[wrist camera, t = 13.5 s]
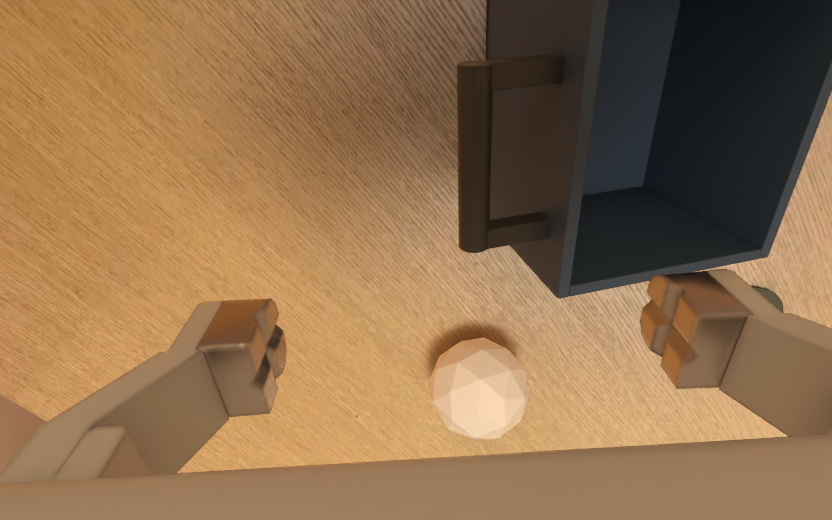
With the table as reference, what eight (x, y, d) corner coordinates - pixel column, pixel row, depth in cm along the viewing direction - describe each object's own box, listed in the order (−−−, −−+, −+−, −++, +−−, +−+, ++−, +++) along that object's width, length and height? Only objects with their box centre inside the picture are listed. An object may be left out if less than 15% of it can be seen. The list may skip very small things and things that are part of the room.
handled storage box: (687, -28, 26) (883, -40, 17) (642, 190, 32) (768, 257, 24) (407, -9, 23) (476, -13, 14) (420, 225, 29) (473, 316, 21)
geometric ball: (470, 316, 41) (520, 323, 33) (509, 392, 42) (566, 415, 34) (400, 362, 39) (436, 381, 31) (443, 442, 39) (488, 479, 32)
